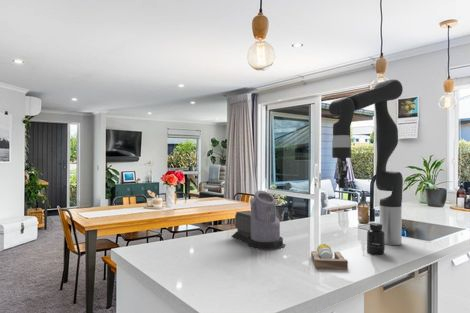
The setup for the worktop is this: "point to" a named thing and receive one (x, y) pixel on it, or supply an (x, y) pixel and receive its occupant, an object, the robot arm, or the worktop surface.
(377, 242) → the supplement bottle
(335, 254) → the walnut U-rest
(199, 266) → the worktop surface
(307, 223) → the worktop surface
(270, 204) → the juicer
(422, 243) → the worktop surface
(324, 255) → the supplement bottle
